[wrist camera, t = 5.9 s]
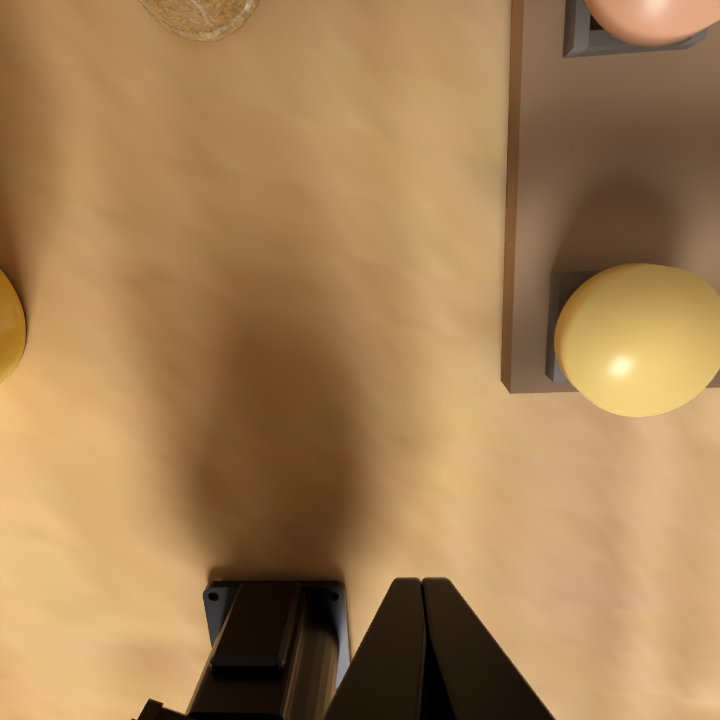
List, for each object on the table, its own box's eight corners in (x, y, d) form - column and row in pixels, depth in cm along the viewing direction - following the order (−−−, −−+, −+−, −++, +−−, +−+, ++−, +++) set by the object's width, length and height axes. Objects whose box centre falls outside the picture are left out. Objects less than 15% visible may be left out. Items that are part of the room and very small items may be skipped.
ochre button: (673, 389, 16) (717, 414, 14) (540, 393, 16) (563, 419, 14) (692, 256, 15) (742, 262, 13) (547, 263, 15) (573, 270, 13)
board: (823, 370, 18) (887, 391, 16) (500, 380, 19) (516, 402, 17) (933, -121, 14) (1040, -189, 12) (514, -81, 15) (538, -137, 12)
